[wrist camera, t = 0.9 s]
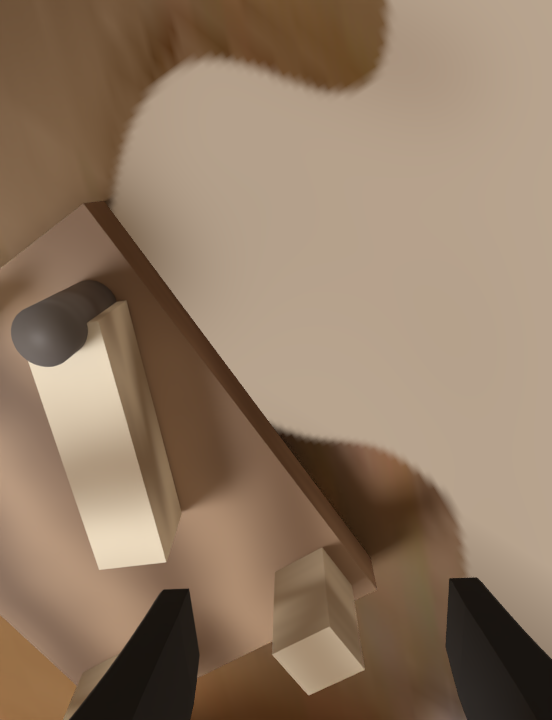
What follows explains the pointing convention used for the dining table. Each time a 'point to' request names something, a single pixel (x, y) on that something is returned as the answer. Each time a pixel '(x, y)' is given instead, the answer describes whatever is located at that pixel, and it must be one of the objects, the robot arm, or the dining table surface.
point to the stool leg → (102, 421)
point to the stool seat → (193, 487)
